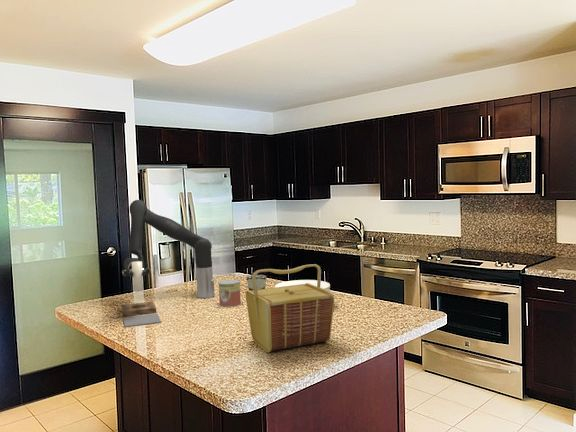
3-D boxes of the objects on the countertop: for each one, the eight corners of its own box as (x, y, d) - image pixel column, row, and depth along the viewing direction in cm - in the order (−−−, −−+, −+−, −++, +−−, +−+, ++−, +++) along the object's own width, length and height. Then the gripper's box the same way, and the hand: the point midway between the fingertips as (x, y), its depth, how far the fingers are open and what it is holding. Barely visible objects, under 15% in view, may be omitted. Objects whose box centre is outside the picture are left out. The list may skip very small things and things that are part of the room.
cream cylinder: (143, 289, 233) (141, 261, 232) (143, 291, 228) (142, 262, 227) (132, 290, 231) (131, 261, 230) (133, 292, 227) (131, 263, 226)
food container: (268, 291, 282) (268, 274, 281) (267, 293, 276) (266, 276, 275) (248, 291, 283) (247, 274, 282) (246, 293, 277) (245, 276, 276)
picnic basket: (267, 359, 169) (264, 275, 167) (244, 339, 193) (241, 265, 191) (338, 345, 181) (336, 267, 179) (308, 328, 204) (306, 259, 203)
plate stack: (291, 318, 222) (290, 293, 221) (266, 305, 247) (265, 284, 246) (341, 309, 235) (340, 286, 234) (312, 298, 260) (312, 277, 259)
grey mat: (157, 314, 236) (157, 313, 236) (161, 322, 221) (161, 321, 221) (123, 318, 230) (123, 317, 230) (125, 327, 215) (125, 326, 215)
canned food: (215, 306, 249) (214, 283, 249) (226, 301, 260) (225, 279, 259) (234, 307, 245) (233, 284, 245) (244, 302, 256) (243, 280, 255)
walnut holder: (153, 305, 254) (152, 301, 254) (156, 312, 240) (156, 307, 239) (121, 309, 249) (121, 304, 248) (123, 316, 234) (122, 311, 234)
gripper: (120, 262, 240) (121, 267, 224) (150, 260, 245) (152, 265, 229) (121, 277, 240) (122, 283, 224) (150, 274, 245) (153, 280, 229)
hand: (137, 274), depth 227 cm, fingers closed on cream cylinder, 4 cm apart
